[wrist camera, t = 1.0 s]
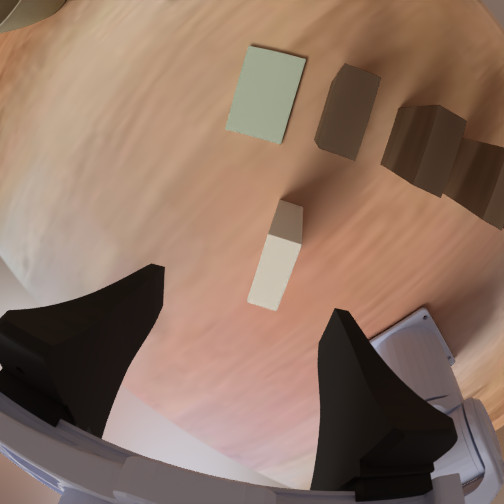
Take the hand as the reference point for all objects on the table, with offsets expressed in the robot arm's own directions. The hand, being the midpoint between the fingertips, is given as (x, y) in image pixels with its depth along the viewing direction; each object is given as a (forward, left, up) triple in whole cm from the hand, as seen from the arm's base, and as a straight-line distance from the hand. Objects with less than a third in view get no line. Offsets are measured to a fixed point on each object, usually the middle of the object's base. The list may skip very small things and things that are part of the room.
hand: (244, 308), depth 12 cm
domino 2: (+3, -8, -11) cm, 14 cm away
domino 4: (-5, -14, -11) cm, 19 cm away
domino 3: (-1, -11, -11) cm, 16 cm away
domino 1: (-1, 0, -11) cm, 11 cm away
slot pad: (+7, -6, -11) cm, 15 cm away
